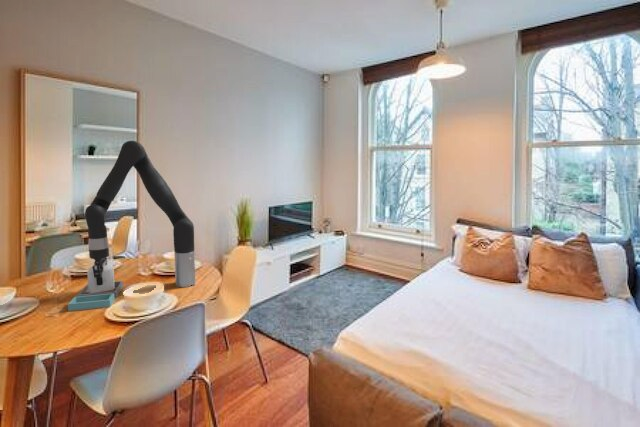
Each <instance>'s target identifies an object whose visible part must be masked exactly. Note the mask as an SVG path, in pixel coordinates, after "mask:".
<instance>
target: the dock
mask: <svg viewBox="0 0 640 427" xmlns="http://www.w3.org/2000/svg"><path fill="white" fill-rule="evenodd" d="M115 299H116V297H114V293H111V294H100V295H89V296H78V297H77V296H74V297H73V298H72V299H71V300H70V302H68V304H67V308H68V312H73V311H74V312H75V311H82V310H93V309H103V308H110V307H111V306H112V305H113V304H114V302H115Z"/></svg>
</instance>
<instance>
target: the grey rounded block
mask: <svg viewBox="0 0 640 427" xmlns="http://www.w3.org/2000/svg"><path fill="white" fill-rule="evenodd" d="M100 270H102V269H100ZM86 274H87V284H88V291H87V292H88V294H92V293H103V292H111V291H115V290H116V287H115V270H114V267H113V265H112V264H107V265H104V271H103V272H102V275H103V276H102V279H103V284H102V285H97V281H96V277H95V278H94V273H93V268H92V266H90V267H88V269H87V272H86ZM97 275H99V273H97Z"/></svg>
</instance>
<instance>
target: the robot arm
mask: <svg viewBox="0 0 640 427" xmlns="http://www.w3.org/2000/svg"><path fill="white" fill-rule="evenodd" d="M133 168H134V169H135V170H136V171H137V173H138V175H139V177H140V180H141V181H142V184H143V185H144V188H145V190H146V192H147V193H148V194H149V196H150V198H151V199H152V200H153V202H154V204H155V205H157V206H158V207H159V209H161V211H163V213H165V215H166V216H167V218H168V219H169V221H170V222H171V223H170V224H171V225H172V227H173V229H172V230H173V234H172V235H173V248H174V251H173V252H174V275H175V276H174V278H175V286H176V287H178V288H187V287H191V285H192V286H196V263H195V258H196V257H195V230H194V229H195V226H194V225H195V224H194V223H193V222H192V220H191V219H190V218H189V217H188V215H187V214H186V213H185V212H184V210H183V209H182V208H181V206H180V204H179V202H178V200H177V198H176V196H175V194H174V192H173V191H172V189H171V188H170V186H169V185H168V183H167V182H166V180H165V179H164V177H163V176H162V174H160V172H158V170H157V169H156V168H155V166H154V165H153V163H152V162H151V159H150V158H149V155H148V153H147V151H146V150H145V147H144V146H143V145H142V144H141V143H140V142H139V141H136V140H127V141H125V142H124V143H123V144H122V145H121V149H120V151H119V154H118V156H117V159H116V161H115V163H114V165H113V166H112V169H111V170H110V171H109V173H108V174H107V176H106V177H105V179H104V181H103V182H102V183H101V185H100V187H99V188H98V191H97V192H96V195H95V197H94V199H93V200H92V201H91V203H90V204H89V205H88V206H87V207H86V208H85V211H84V212H85V216H84V217H85V221H86V225H87V235H88V243H87V244H88V255H89V256H88V257H89V259H90V260H94V262H93V265H92V266H91V267H92V268H93V273H94V278H95V277H96V281H97V285H102V284H103V279H102V276H103V275H102V272H103V271H104V265H108V257H110V248H109V239H108V230H107V226H106V224H105V221H106V220H105V215H106V213H107V212H108V210H109V208H110V206H111V205H112V202H113V201H114V200H115V199H116V197H117V195H118V193H119V192H120V190H121V188H122V186H123V184H124V183H125V179H126V177H127V176H128V174H129V172H130V171H131V169H133ZM100 269H102V270H100ZM97 273H99V275H97Z"/></svg>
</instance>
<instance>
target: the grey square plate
mask: <svg viewBox="0 0 640 427" xmlns="http://www.w3.org/2000/svg"><path fill="white" fill-rule="evenodd" d="M114 281H115V280H114ZM123 287H124V281H123V280H119V281H118V280H116V281H115V289H114V290H113V291H103V292H96V293H87V292H88V283H86V285H84V287H83V288H82V289H81V290H80V291H79V292H78V293H77V294H76V297H78V296H89V295H100V294H111V293H114V297H115V298H117V297H118V295H119V294H120V292H121V290H122V289H123Z"/></svg>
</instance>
